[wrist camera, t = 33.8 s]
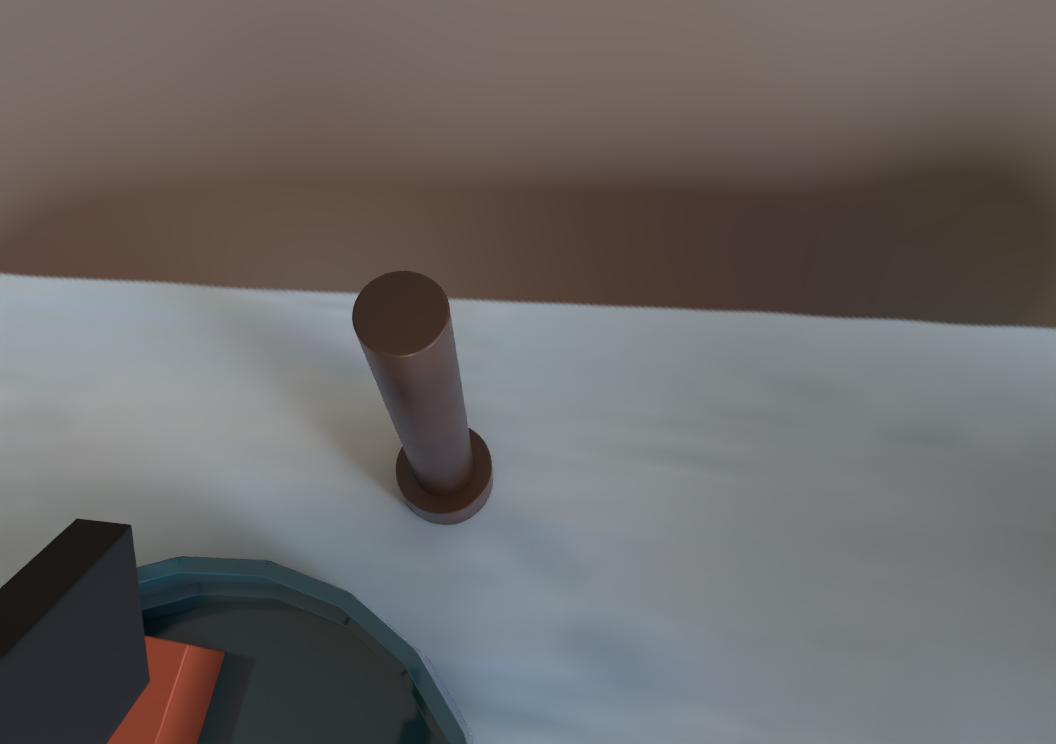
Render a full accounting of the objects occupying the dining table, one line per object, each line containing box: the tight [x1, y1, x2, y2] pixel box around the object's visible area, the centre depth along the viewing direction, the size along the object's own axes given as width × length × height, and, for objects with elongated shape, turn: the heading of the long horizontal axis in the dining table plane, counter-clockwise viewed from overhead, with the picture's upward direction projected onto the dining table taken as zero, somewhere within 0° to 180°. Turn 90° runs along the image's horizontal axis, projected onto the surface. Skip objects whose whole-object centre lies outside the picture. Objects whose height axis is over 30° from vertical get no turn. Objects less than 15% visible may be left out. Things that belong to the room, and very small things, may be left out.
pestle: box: [352, 271, 493, 525], centre depth 28 cm, size 4×4×16 cm
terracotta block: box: [107, 636, 225, 744], centre depth 29 cm, size 4×4×4 cm
